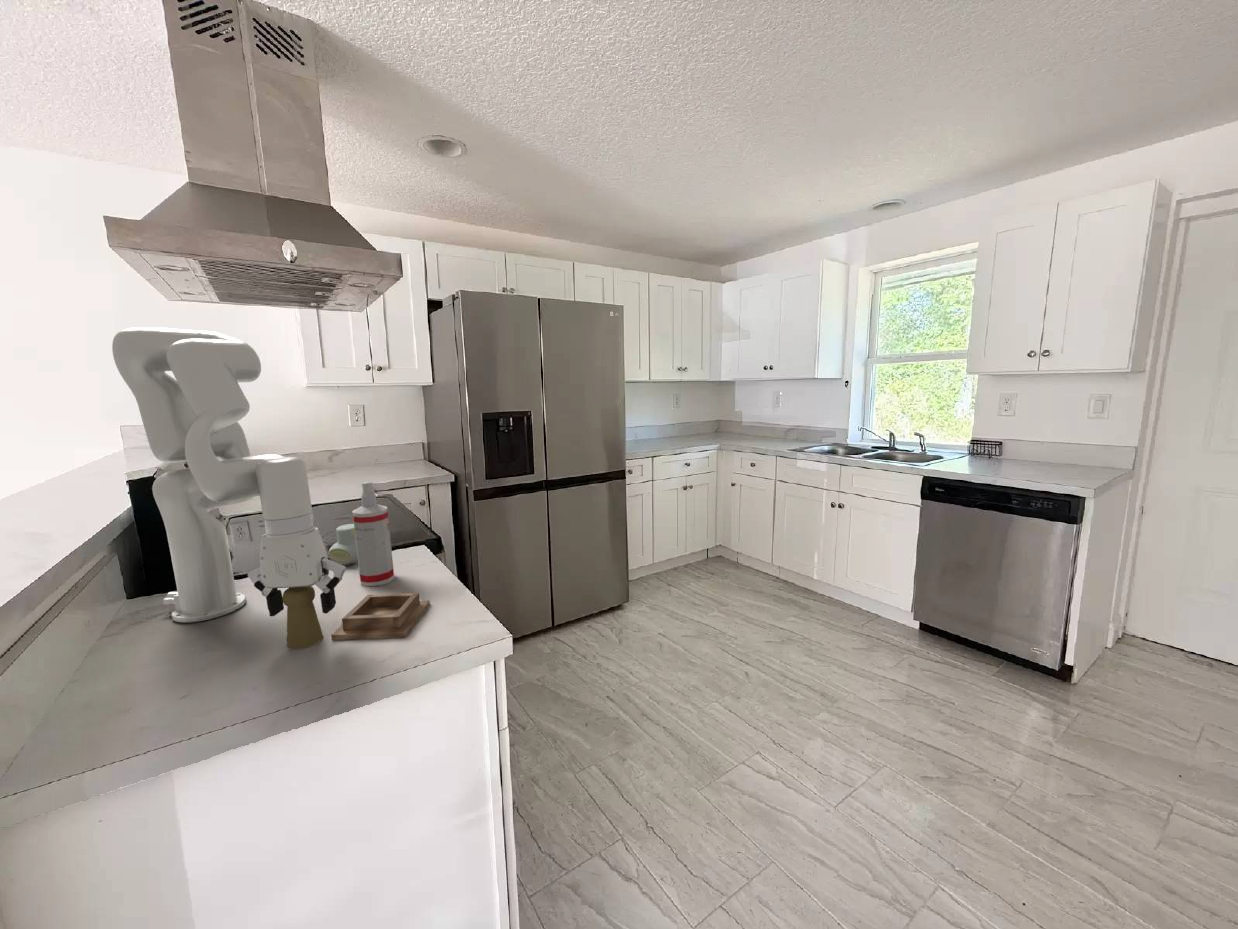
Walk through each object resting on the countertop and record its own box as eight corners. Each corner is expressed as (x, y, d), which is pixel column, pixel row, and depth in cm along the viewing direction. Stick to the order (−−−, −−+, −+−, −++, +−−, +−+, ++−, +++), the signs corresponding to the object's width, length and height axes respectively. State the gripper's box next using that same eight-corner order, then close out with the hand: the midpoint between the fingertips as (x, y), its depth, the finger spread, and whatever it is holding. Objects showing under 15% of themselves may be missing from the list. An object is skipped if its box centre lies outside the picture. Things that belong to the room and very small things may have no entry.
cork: (305, 650, 91) (298, 595, 89) (278, 647, 92) (270, 592, 90) (330, 634, 97) (324, 581, 95) (304, 631, 98) (297, 579, 96)
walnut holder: (331, 639, 95) (329, 623, 94) (365, 606, 109) (363, 591, 108) (405, 637, 95) (403, 620, 95) (429, 604, 109) (428, 589, 109)
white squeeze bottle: (353, 583, 121) (341, 484, 117) (378, 572, 128) (368, 478, 124) (376, 588, 118) (365, 486, 114) (401, 576, 125) (391, 480, 121)
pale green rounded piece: (323, 565, 134) (319, 530, 132) (347, 554, 142) (343, 521, 140) (357, 568, 131) (353, 532, 130) (379, 557, 139) (375, 523, 138)
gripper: (226, 533, 87) (242, 623, 89) (326, 528, 87) (339, 618, 90) (255, 521, 94) (269, 605, 97) (347, 516, 95) (359, 600, 97)
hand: (303, 611), depth 93 cm, fingers open, 9 cm apart
